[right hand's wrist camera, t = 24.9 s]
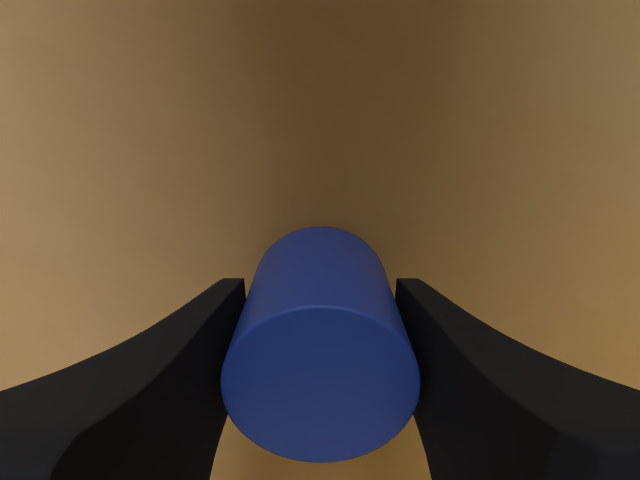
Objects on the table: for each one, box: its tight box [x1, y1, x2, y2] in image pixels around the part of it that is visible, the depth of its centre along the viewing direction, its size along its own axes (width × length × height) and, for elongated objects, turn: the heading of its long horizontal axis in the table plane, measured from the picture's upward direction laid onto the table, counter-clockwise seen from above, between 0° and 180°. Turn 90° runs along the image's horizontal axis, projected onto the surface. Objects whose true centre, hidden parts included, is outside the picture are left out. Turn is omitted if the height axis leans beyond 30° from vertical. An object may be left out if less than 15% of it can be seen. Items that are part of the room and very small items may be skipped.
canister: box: [220, 227, 421, 463], centre depth 10 cm, size 4×4×5 cm
